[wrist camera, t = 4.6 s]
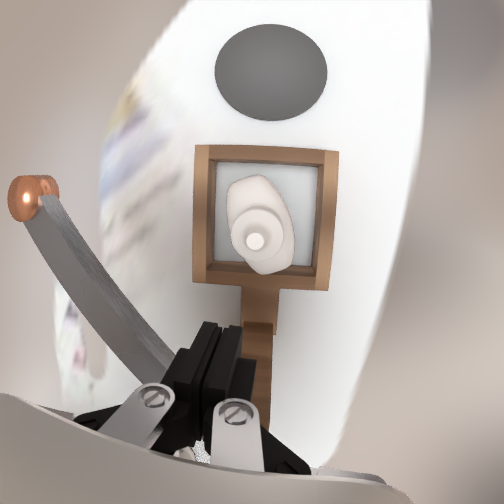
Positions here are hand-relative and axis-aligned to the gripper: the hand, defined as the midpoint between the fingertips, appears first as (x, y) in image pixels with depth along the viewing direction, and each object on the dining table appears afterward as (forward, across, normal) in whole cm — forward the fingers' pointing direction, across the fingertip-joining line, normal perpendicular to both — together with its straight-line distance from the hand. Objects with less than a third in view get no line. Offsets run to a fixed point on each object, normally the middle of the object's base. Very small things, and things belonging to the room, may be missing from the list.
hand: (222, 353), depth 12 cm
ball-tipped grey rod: (0, +4, 0) cm, 4 cm away
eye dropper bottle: (+14, 0, -4) cm, 14 cm away
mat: (+14, 0, -16) cm, 21 cm away
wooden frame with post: (+13, -1, -1) cm, 13 cm away
